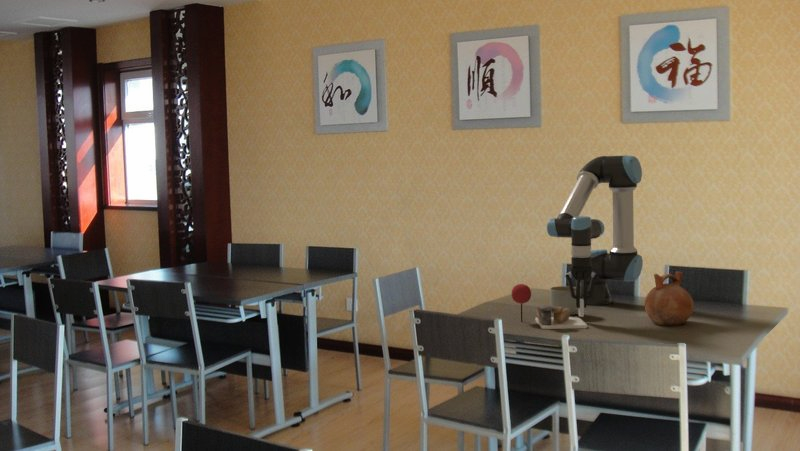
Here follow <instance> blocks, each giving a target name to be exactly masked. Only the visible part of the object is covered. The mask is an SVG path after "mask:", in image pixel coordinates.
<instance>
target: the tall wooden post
mask: <svg viewBox="0 0 800 451" xmlns="http://www.w3.org/2000/svg"><path fill="white" fill-rule="evenodd" d="M540 307H541V306H537V307H536V318H538V319H539V320H540V321H541V322H542V325H551V317H552V311H541V310H540Z"/></svg>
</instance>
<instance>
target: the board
mask: <svg viewBox="0 0 800 451" xmlns="http://www.w3.org/2000/svg"><path fill="white" fill-rule="evenodd" d="M534 318H535V322H536V323H537V324H538V326H539V327H540V328H541V329H542V330H551V329H552V330H555V329H556V330H558V329H562V330H563V329H565V330H566V329H588V324H587V323H586V322H585V321H584V320H583V319H581V318H580V316H569V319H567V320H566V321H564V322H563V323H554V316H551V325H542V322H541V321H540V320H539V319H538V318H537V317H534Z"/></svg>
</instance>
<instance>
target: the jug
mask: <svg viewBox="0 0 800 451" xmlns="http://www.w3.org/2000/svg"><path fill="white" fill-rule="evenodd" d="M683 276H684V273H683V272H682V271H675V274H674V275H673V274H671V273H665V274H663V275H659V273H654V274H653V278H654V282H655V287H653V288H652V289H650V290H649V292H647V295H646V296H645V299H644V309H645V312H646V314H647V317H648V318H649V319H650V320H651V322H652V323H653V324H654V325H656V326H657V325H658V326H662V325H663V326H666V327H678V326H677V325H679V326H683V325H684V324H685V323H686V322H687V321H688V320H689V319H690V318H691V316H692V314H693V312H694V309H695V302H694V299H693V297H692V296H691V294H690V293H689V292H688V291H687V290H686V289H685V288H684V287H682V286H681V283H682V279H683ZM668 278H670V279H671V280H672V282H669V283H664V282H665V281H666V279H668ZM682 324H683V325H682Z"/></svg>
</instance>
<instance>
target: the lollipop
mask: <svg viewBox="0 0 800 451" xmlns="http://www.w3.org/2000/svg"><path fill="white" fill-rule="evenodd" d="M531 297H532V291H531V288H530V287H529V286H528V285H527V284H525V283H523V284H522V283H519V284H516V285H514V286H513V287H512V289H511V298H512V300H513V301H514V302H515V303H517V304H520V322H523V304H526V303H528V302H530V300H531Z"/></svg>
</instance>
